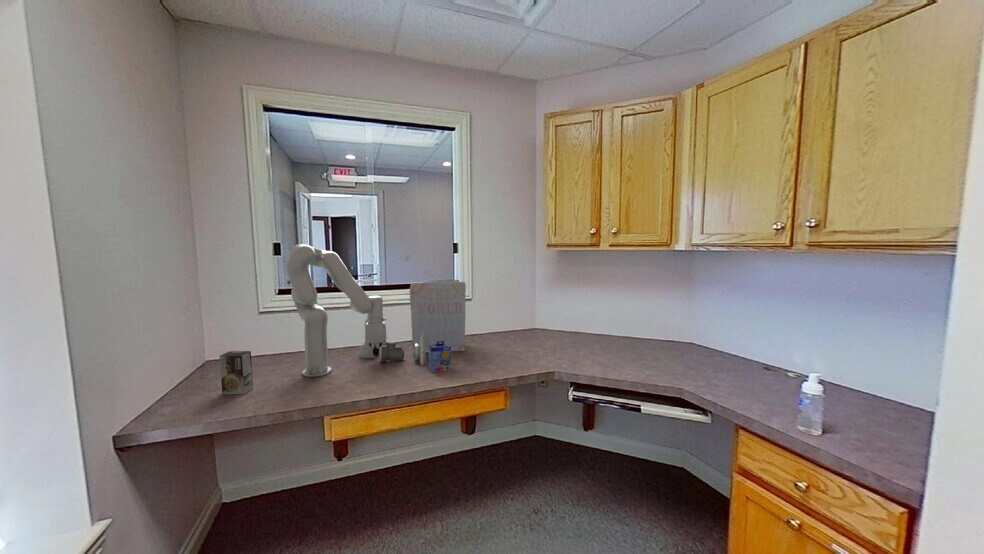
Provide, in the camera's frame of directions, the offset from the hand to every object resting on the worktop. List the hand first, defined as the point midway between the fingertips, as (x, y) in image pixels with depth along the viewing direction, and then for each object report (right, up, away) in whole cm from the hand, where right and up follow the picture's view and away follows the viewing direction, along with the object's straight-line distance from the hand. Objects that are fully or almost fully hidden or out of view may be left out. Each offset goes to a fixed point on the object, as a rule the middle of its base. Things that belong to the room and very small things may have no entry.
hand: (376, 355), depth 197 cm
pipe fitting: (+8, -3, +1) cm, 9 cm away
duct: (+22, -3, +2) cm, 22 cm away
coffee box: (-45, -7, -40) cm, 60 cm away
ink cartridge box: (+34, -5, -12) cm, 36 cm away
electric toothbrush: (-7, -2, +12) cm, 14 cm away
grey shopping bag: (+28, -1, +27) cm, 39 cm away
